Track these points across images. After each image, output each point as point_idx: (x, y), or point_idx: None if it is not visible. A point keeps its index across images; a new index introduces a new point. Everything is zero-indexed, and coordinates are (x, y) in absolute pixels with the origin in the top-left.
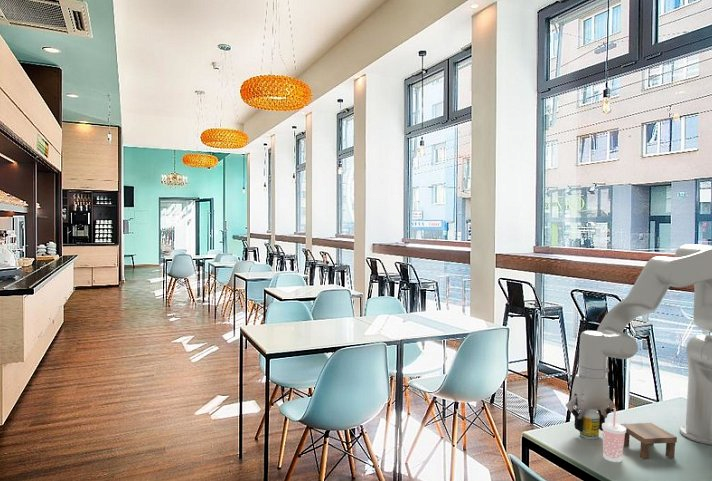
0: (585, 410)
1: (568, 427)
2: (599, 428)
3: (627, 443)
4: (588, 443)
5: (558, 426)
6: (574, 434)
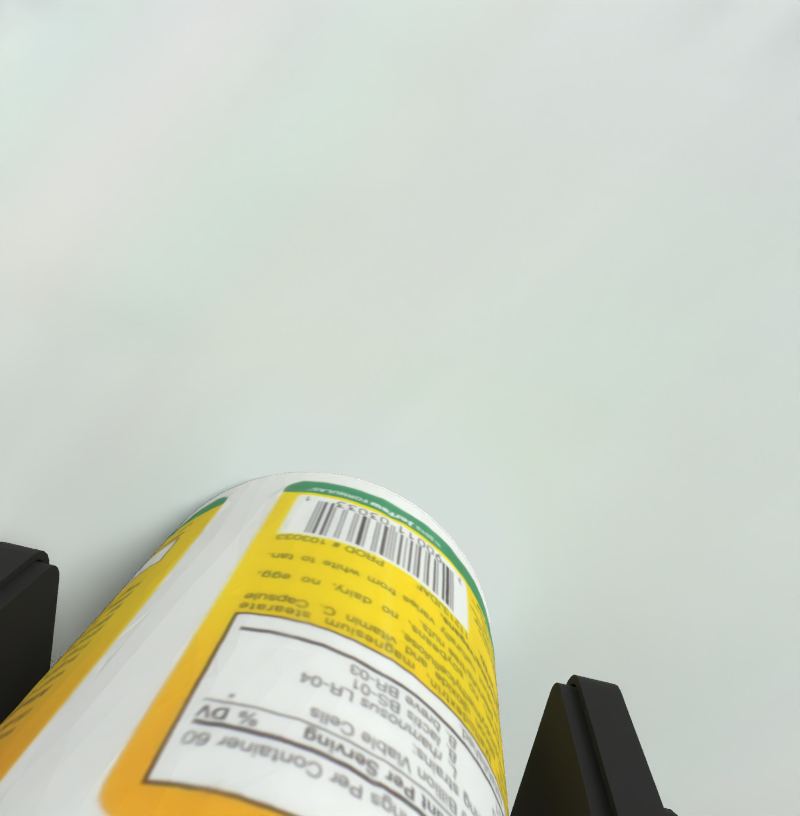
0: None
1: (212, 140)
2: (521, 809)
3: None
4: None
5: (12, 8)
6: (91, 473)
